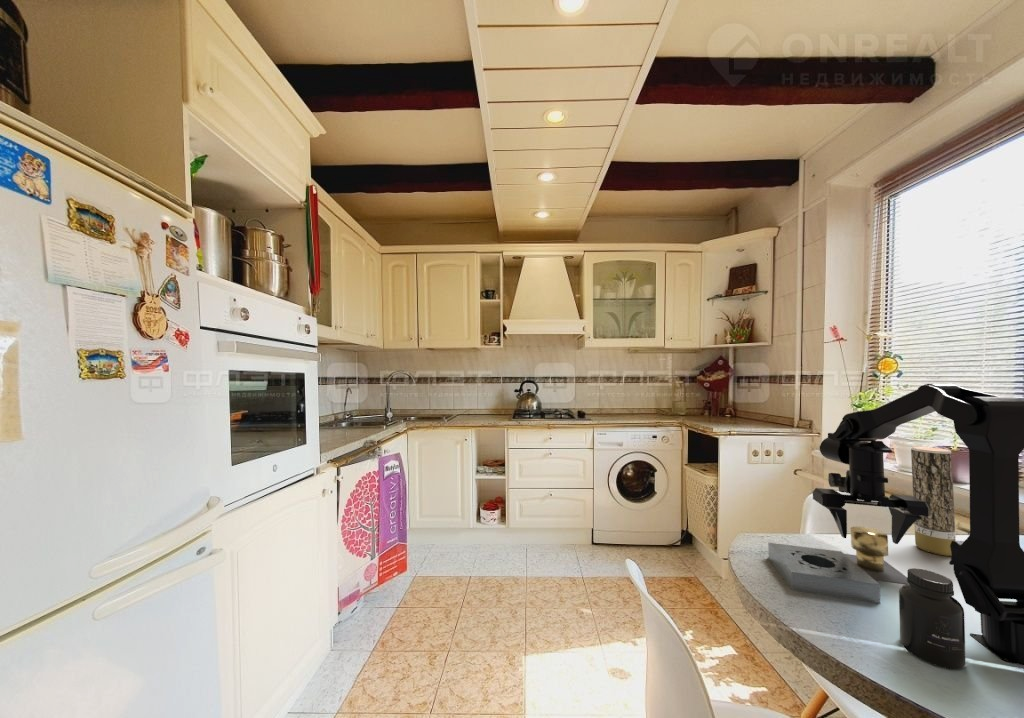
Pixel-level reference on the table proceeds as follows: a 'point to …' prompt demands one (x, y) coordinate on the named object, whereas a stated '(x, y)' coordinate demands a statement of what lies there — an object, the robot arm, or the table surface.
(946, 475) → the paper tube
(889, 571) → the rubber mat
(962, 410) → the robot arm
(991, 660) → the table surface
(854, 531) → the end cover
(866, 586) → the housing
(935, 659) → the supplement bottle
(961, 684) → the table surface
